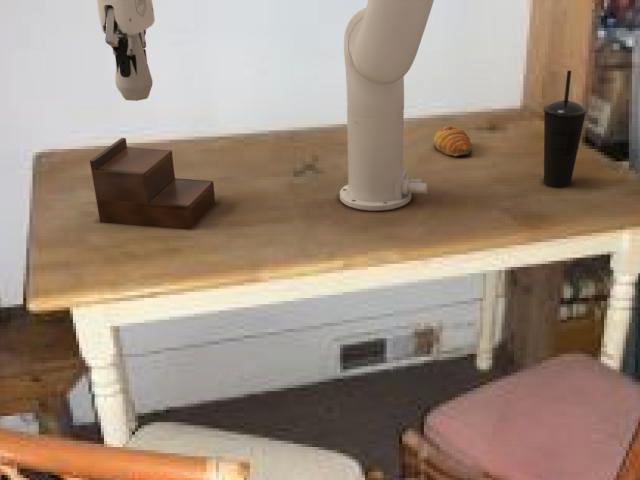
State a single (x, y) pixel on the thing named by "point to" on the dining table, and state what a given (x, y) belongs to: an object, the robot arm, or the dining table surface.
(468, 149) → the pastry
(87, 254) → the dining table surface
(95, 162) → the spice rack
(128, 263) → the dining table surface
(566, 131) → the drinking cup
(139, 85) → the salt shaker
